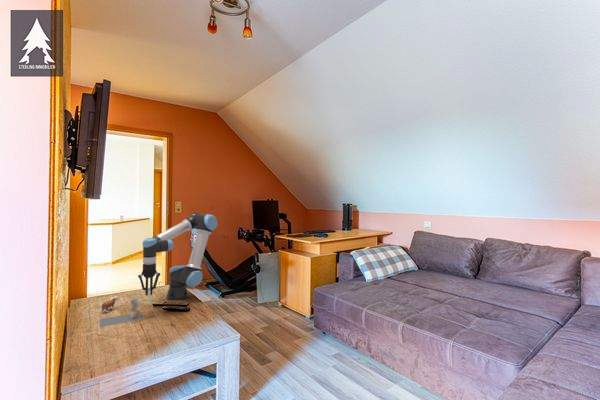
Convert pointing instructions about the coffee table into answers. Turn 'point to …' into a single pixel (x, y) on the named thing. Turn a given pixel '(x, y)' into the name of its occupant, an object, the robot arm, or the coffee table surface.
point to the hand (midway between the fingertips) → (148, 300)
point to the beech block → (134, 308)
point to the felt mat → (118, 320)
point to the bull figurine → (109, 304)
